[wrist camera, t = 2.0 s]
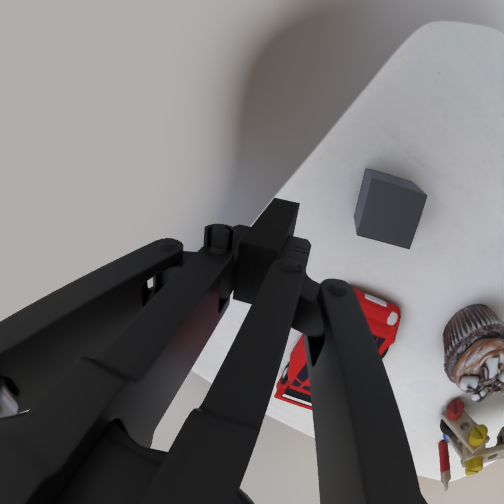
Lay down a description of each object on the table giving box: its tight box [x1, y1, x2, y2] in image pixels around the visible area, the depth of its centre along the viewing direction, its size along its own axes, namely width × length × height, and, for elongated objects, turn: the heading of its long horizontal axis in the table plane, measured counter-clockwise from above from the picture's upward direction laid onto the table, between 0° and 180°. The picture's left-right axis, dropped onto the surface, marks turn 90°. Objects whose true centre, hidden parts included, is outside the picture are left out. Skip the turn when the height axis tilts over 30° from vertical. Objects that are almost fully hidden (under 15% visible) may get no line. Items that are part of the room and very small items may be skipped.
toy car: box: [274, 289, 401, 410], centre depth 33 cm, size 10×20×5 cm, turn 166°
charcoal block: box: [354, 168, 427, 249], centre depth 23 cm, size 5×5×5 cm
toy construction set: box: [438, 386, 504, 491], centre depth 24 cm, size 27×22×21 cm
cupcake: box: [443, 304, 504, 403], centre depth 24 cm, size 10×10×10 cm
